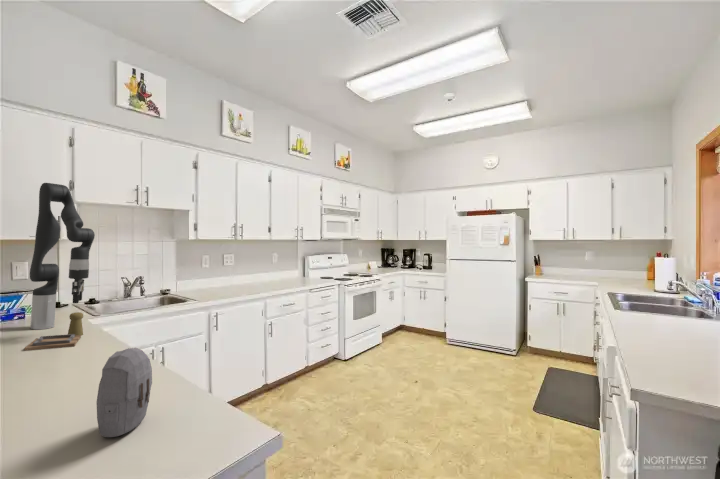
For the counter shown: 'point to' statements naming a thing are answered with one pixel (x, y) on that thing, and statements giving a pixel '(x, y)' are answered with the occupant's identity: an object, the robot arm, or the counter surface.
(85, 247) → the robot arm
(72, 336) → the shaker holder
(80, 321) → the cork
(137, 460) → the counter surface
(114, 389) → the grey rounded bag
